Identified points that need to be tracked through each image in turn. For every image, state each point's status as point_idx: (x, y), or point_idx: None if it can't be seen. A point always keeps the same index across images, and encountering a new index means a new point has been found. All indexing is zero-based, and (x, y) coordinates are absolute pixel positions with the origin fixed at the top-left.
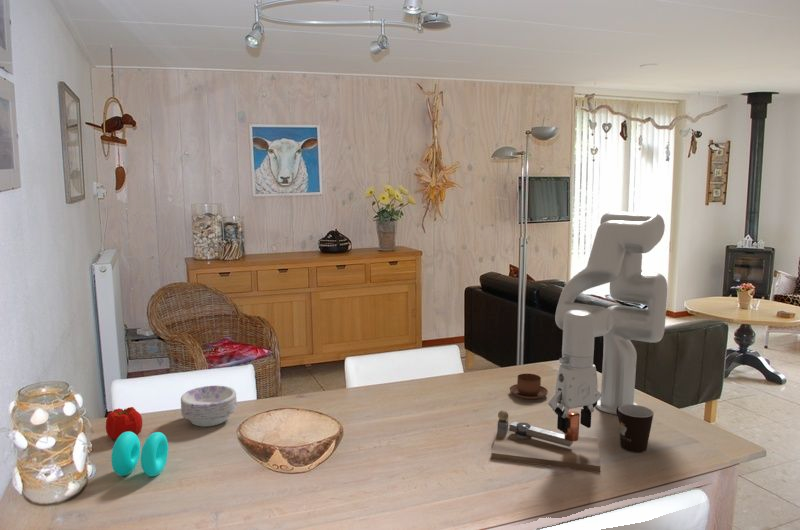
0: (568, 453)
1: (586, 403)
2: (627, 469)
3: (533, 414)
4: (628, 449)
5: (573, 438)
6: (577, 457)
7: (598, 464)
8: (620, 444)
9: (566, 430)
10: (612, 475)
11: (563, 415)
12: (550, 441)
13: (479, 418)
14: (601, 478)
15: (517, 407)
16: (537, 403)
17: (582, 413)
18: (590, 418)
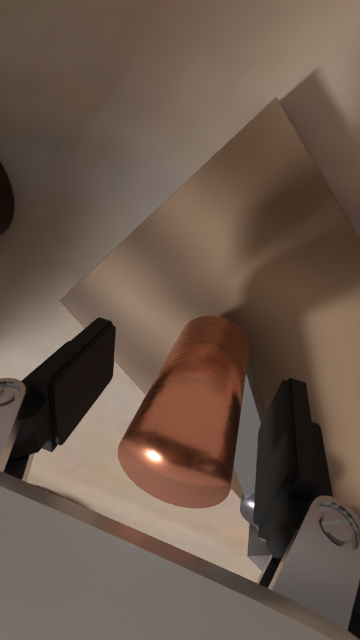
0: (268, 304)
1: (20, 536)
2: (130, 31)
3: (103, 483)
4: (1, 176)
5: (234, 332)
6: (274, 254)
7: (264, 123)
8: (4, 228)
9: (299, 390)
10: (258, 23)
11: (350, 535)
12: (261, 399)
13: (234, 558)
14: (347, 33)
15: (109, 514)
16: (55, 491)
17: (73, 418)
18: (67, 351)
